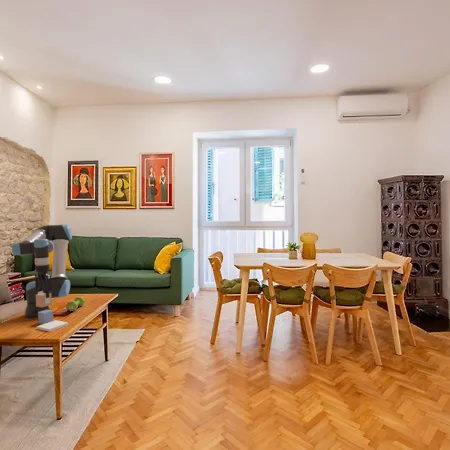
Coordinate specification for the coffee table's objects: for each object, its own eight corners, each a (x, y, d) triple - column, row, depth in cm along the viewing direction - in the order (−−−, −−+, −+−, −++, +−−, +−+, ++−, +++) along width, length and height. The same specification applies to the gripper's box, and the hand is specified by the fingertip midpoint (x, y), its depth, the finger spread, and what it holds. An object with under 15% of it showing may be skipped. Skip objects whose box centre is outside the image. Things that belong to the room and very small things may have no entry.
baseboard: (37, 328, 190) (36, 326, 189) (55, 322, 200) (55, 320, 200) (49, 331, 184) (49, 329, 184) (68, 325, 195) (68, 322, 194)
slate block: (38, 323, 200) (37, 312, 200) (47, 320, 206) (47, 309, 205) (44, 324, 198) (43, 313, 197) (53, 321, 203) (52, 310, 203)
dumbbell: (75, 305, 238) (75, 296, 238) (86, 305, 238) (85, 295, 238) (65, 312, 222) (64, 302, 222) (76, 312, 222) (76, 301, 222)
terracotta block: (36, 306, 189) (35, 294, 189) (46, 303, 194) (45, 292, 194) (41, 307, 186) (41, 295, 186) (51, 304, 191) (51, 293, 191)
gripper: (27, 264, 192) (29, 302, 192) (44, 266, 182) (46, 305, 182) (39, 263, 198) (41, 299, 198) (57, 264, 188) (59, 302, 189)
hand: (44, 302), depth 190 cm, fingers closed on terracotta block, 6 cm apart
